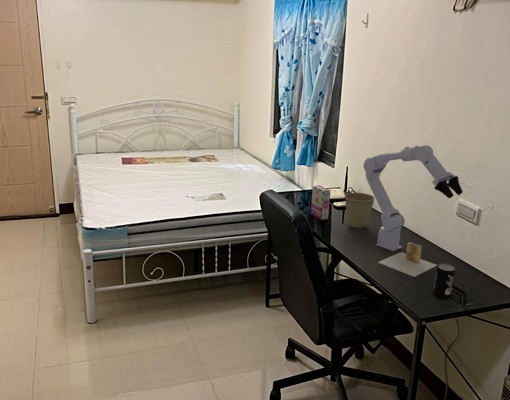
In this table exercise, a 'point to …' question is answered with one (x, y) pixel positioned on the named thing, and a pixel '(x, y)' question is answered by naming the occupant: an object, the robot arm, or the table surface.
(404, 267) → the rubber mat
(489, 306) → the table surface
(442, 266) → the beverage can
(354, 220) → the plant pot
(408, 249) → the wood tile
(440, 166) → the robot arm
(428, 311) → the table surface
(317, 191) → the candy bar box
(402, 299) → the table surface
